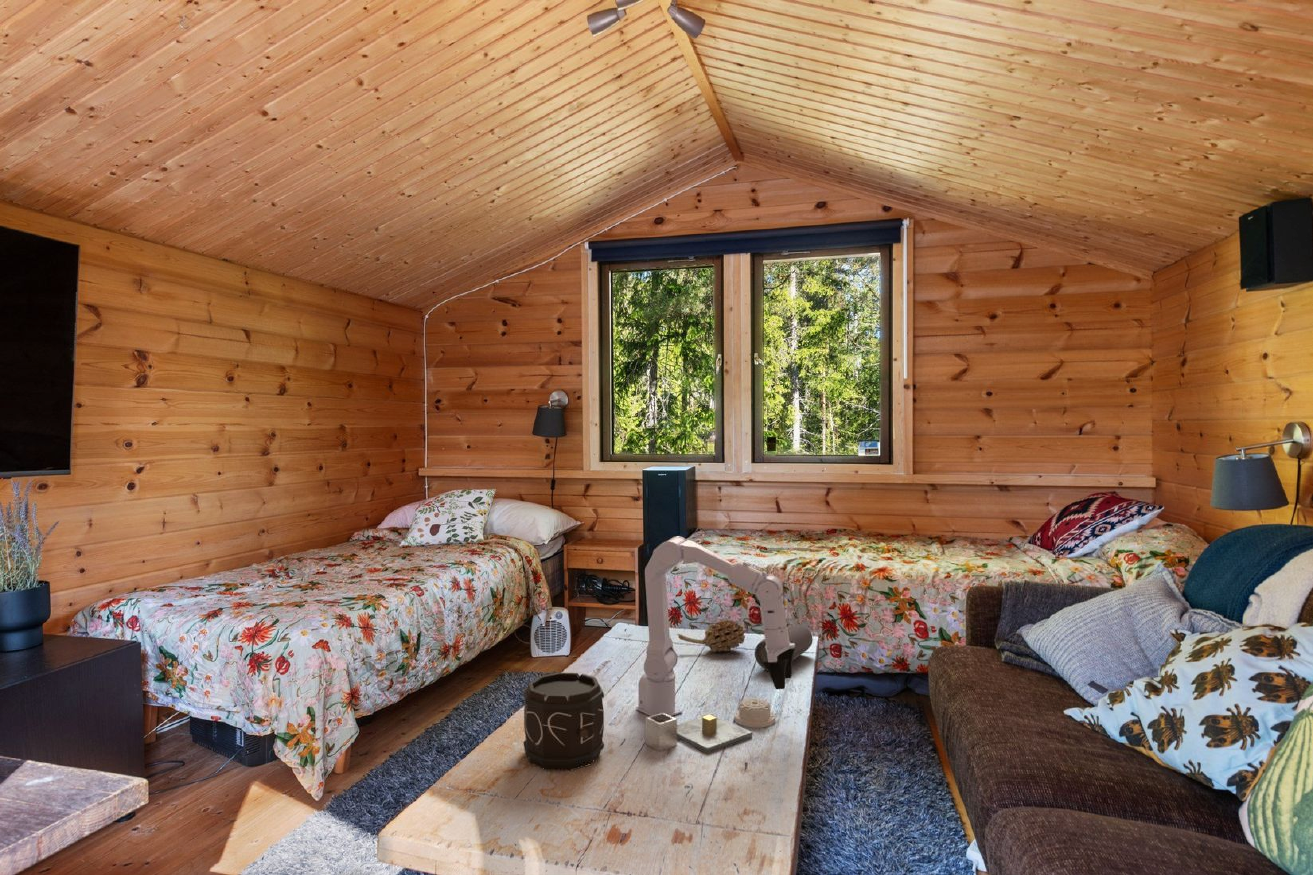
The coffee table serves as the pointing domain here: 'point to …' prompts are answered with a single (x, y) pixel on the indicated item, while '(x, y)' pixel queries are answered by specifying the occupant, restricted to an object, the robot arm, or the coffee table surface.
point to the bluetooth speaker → (796, 635)
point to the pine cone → (720, 636)
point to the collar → (661, 731)
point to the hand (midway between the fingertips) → (783, 683)
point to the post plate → (711, 733)
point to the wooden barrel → (563, 721)
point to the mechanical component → (754, 713)
